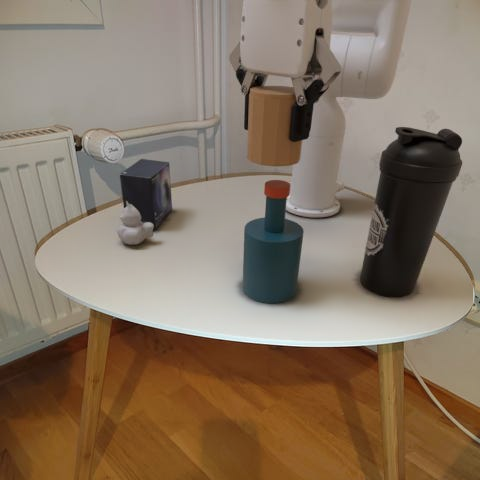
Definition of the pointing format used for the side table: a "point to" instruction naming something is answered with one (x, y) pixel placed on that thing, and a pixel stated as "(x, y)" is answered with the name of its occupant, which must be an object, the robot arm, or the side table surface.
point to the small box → (148, 190)
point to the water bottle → (408, 208)
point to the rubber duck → (133, 226)
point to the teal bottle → (272, 249)
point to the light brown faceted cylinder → (271, 127)
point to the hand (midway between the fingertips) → (275, 132)
